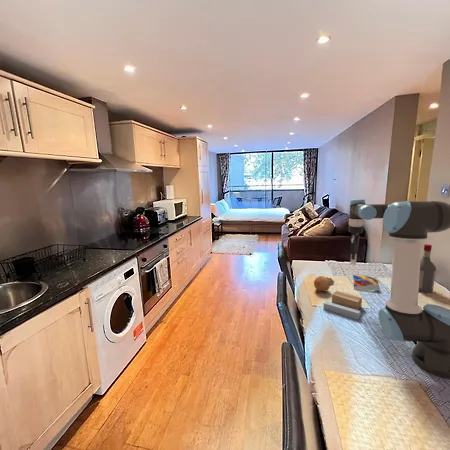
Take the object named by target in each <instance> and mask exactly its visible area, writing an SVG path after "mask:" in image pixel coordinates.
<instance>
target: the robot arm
mask: <svg viewBox="0 0 450 450" xmlns="http://www.w3.org/2000/svg"><path fill="white" fill-rule="evenodd" d="M348 217H349V218H348V231H347V232H349V233H351V235H350V239H349V243H350V245H349V250H350V251H349V254H350V262H349V263H350V264H349V265H352V266H356V265H357V255H358V254H359V252H358V250H359V243H360V237H361V235H360V234H362V233H363V232H364V223H365V222H366V221H367V220H368V221H371V220H373V219H382V226H383V229H384V231H385V232H386V233H388V237H389V238H390V239H391V240H392V244H393V245H392V262H391V281H390V282H391V284H390V299H389V300H387V301H385V308H383V307H382V308H381V309H379V311H378V314H377V315H378V320H379V321H378V323H379V325H380V328H381V330H382V332H383V333H384V335H385V336H386V337H387V338H388V339H389V340H391V341H399V342H414V343H415V342H416V344H415V346H414V347H413V348H412V352H411V357H412V360H413V362H414V363H415V364H416V365H418V366H419V367H420V368H421V369H423V370H424V371H426V372H428V373H430V374H433V375H434V376H437V377H441V378H445V379H450V309H449V308H446V307H443V306H441V305H437V304H430V303H426V304H425V305H423V307H421V306H420V305H419V304H418V303H419V292H418V291H419V275H420V260H422V258H421V256H422V243H423V242H425V241H426V240H427V239H428V233H441V232H445V231H448V230H450V203H447V202H444V201H439V200H433V201H432V200H431V201H426V200H425V201H424V200H423V201H419V200H417V201H414V200H413V201H408V200H407V201H396V202H392V203H387V204H386V203H385V204H383V203H382V204H380V203H379V204H378V203H377V204H375V203H373V204H370V203H369V204H368V203H366V199H364V198H351V200H350V201H349V214H348Z"/></svg>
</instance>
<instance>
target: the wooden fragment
mask: <svg viewBox="0 0 450 450" xmlns="http://www.w3.org/2000/svg"><path fill="white" fill-rule="evenodd" d="M328 277H329V276H328ZM328 277H326V278H327V279H328V280H329V283H330V286H333V285H334V283H335V281H334V279H333V278H332V277H331V278H328ZM330 286H329V288H330Z"/></svg>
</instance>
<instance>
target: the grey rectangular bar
mask: <svg viewBox="0 0 450 450" xmlns="http://www.w3.org/2000/svg"><path fill="white" fill-rule="evenodd" d="M323 309H324V310H327V311H330V312H331V313H335V312H336V314H338V315H343V316H346V317H347V318H348V317H349V318H351V319H355V320H359V319H360V317H361V311H360V310H355V309H351V308H348V307H344V306H341V305H337V304H334V303H332V302H330V301H327V300H325V301H324V302H323Z"/></svg>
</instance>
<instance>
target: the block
mask: <svg viewBox="0 0 450 450" xmlns="http://www.w3.org/2000/svg"><path fill="white" fill-rule="evenodd" d="M362 302H363V297H360V296H358V295H354V294H351V293H348V292H344V291H340V290H336V291H334V292H333V293H332V295H331V303H334V304H337V305H341V306H344V307H348V308H351V309H355V310H358V311H360V309H361V308H362Z"/></svg>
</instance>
